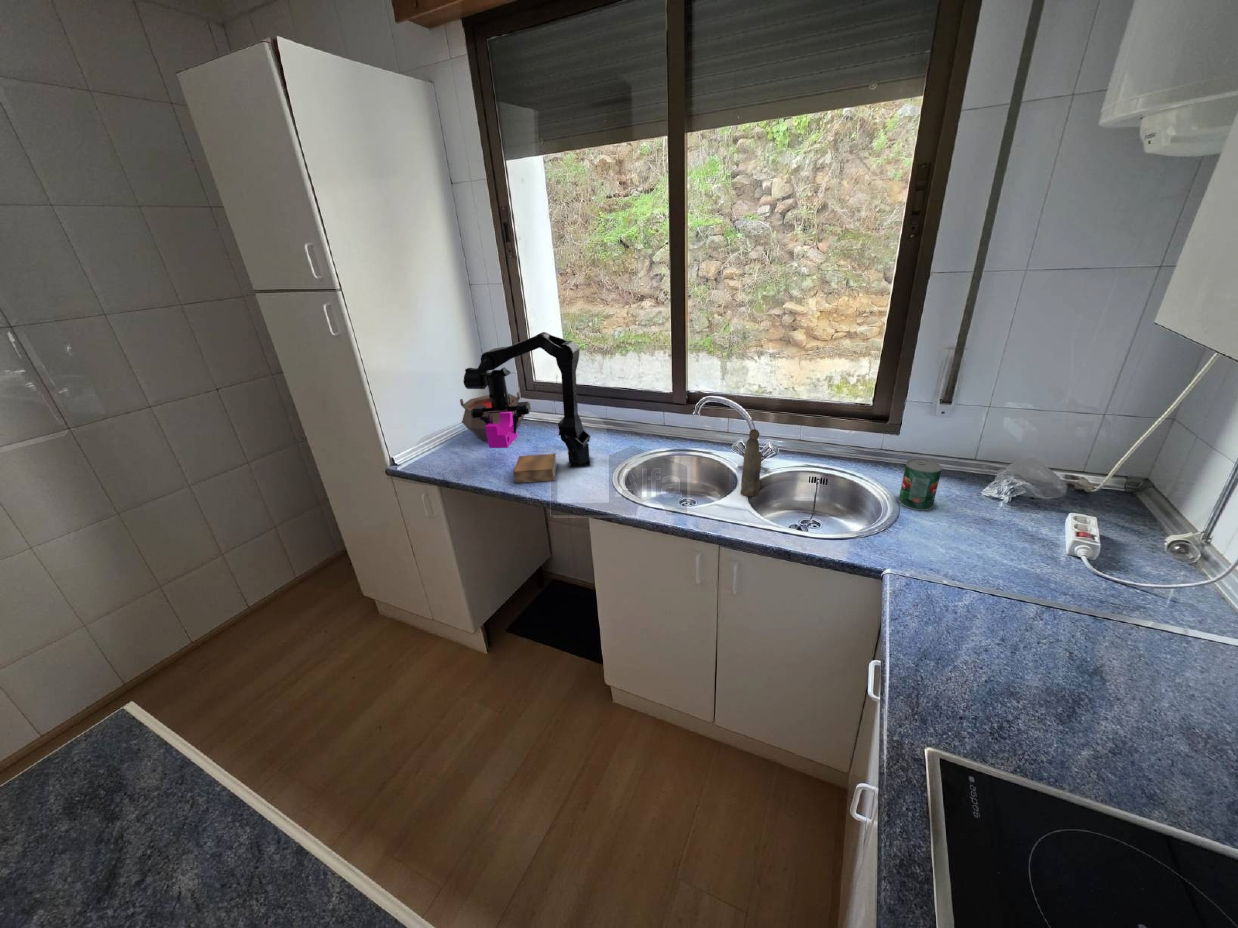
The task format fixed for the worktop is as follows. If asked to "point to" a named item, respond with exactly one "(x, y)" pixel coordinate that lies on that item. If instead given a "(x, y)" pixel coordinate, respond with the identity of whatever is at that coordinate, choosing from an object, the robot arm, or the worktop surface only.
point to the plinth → (535, 468)
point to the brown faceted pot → (479, 425)
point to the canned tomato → (919, 484)
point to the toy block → (501, 432)
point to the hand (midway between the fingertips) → (505, 433)
